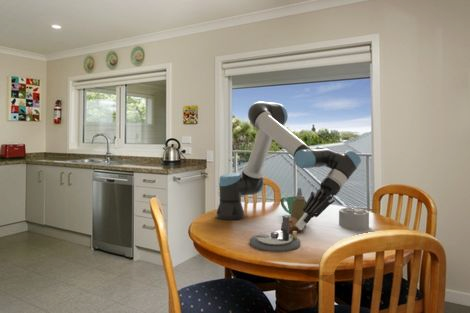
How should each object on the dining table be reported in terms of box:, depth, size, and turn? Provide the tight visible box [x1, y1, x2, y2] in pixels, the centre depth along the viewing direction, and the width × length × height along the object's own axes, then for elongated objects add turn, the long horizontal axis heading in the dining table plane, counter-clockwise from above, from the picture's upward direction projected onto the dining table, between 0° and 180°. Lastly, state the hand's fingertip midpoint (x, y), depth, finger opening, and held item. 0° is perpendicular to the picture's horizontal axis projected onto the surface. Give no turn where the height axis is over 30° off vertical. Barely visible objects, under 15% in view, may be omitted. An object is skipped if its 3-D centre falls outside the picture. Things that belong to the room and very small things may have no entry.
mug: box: [280, 196, 306, 216], centre depth 167 cm, size 15×10×10 cm
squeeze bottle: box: [290, 187, 307, 220], centre depth 147 cm, size 8×8×18 cm
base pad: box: [249, 231, 301, 253], centre depth 122 cm, size 20×20×4 cm
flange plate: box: [256, 215, 293, 246], centre depth 122 cm, size 14×16×10 cm
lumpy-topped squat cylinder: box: [338, 206, 370, 231], centre depth 145 cm, size 10×13×9 cm
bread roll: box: [280, 216, 304, 235], centre depth 138 cm, size 10×10×8 cm
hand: (298, 227), depth 119 cm, fingers closed
